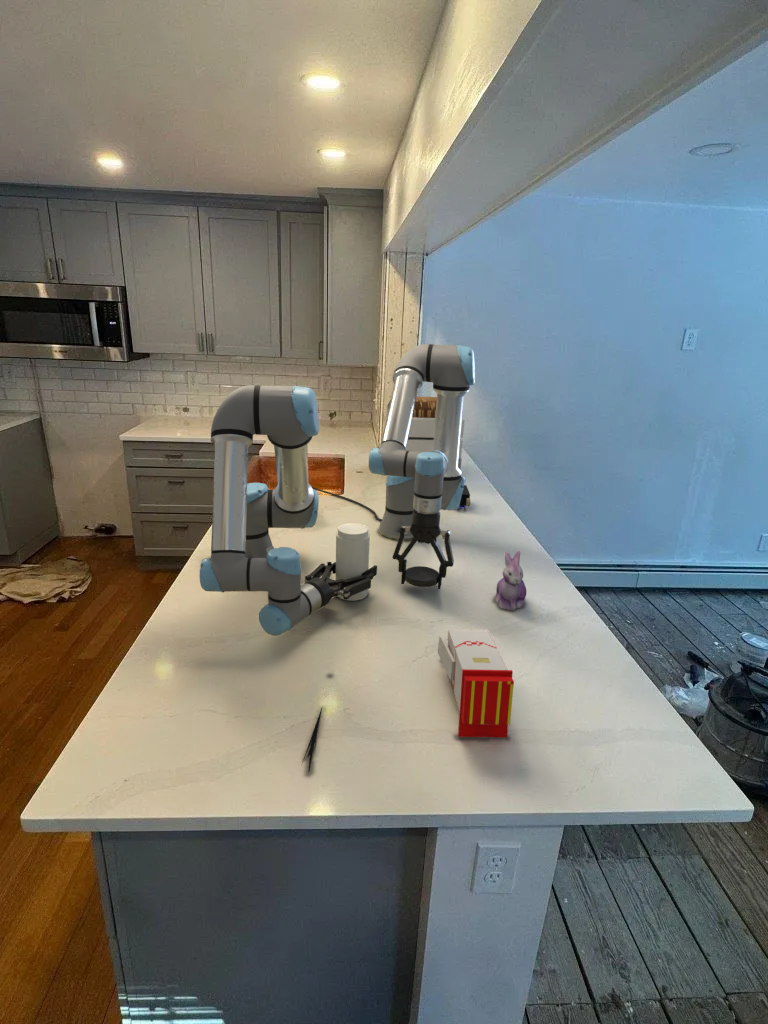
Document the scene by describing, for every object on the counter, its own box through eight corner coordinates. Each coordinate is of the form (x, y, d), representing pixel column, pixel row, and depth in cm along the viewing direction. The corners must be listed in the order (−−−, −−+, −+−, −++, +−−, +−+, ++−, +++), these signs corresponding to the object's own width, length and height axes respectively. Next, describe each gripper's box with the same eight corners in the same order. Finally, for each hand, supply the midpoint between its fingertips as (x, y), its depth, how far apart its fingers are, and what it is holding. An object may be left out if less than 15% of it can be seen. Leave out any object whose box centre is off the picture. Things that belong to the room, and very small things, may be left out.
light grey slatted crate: (382, 463, 289) (386, 382, 275) (445, 464, 293) (451, 384, 279) (390, 482, 257) (394, 392, 243) (460, 483, 261) (468, 394, 247)
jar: (367, 585, 162) (369, 522, 155) (367, 600, 153) (370, 535, 147) (336, 584, 161) (337, 522, 155) (334, 600, 153) (335, 534, 146)
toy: (488, 613, 130) (523, 677, 101) (484, 667, 133) (517, 744, 104) (435, 612, 130) (455, 676, 101) (432, 666, 133) (451, 743, 103)
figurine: (508, 614, 149) (515, 562, 144) (485, 597, 158) (490, 547, 153) (536, 607, 153) (543, 557, 148) (511, 591, 162) (518, 542, 157)
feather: (331, 679, 122) (336, 673, 122) (307, 777, 96) (313, 769, 95) (324, 675, 122) (329, 669, 121) (298, 772, 95) (304, 764, 95)
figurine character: (470, 515, 225) (465, 499, 238) (472, 498, 221) (467, 483, 235) (453, 515, 224) (449, 499, 238) (455, 497, 221) (451, 482, 234)
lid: (413, 589, 154) (414, 583, 153) (398, 574, 162) (399, 568, 162) (444, 584, 158) (445, 578, 157) (428, 570, 166) (429, 564, 165)
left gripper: (277, 597, 147) (329, 567, 165) (346, 623, 137) (393, 588, 155) (277, 571, 145) (330, 543, 163) (347, 595, 134) (395, 563, 152)
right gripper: (383, 509, 152) (379, 585, 159) (467, 519, 148) (459, 596, 155) (389, 501, 159) (385, 573, 166) (469, 510, 154) (461, 584, 162)
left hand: (361, 565), depth 159 cm, fingers closed on jar, 9 cm apart
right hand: (421, 584), depth 160 cm, fingers closed on lid, 10 cm apart
